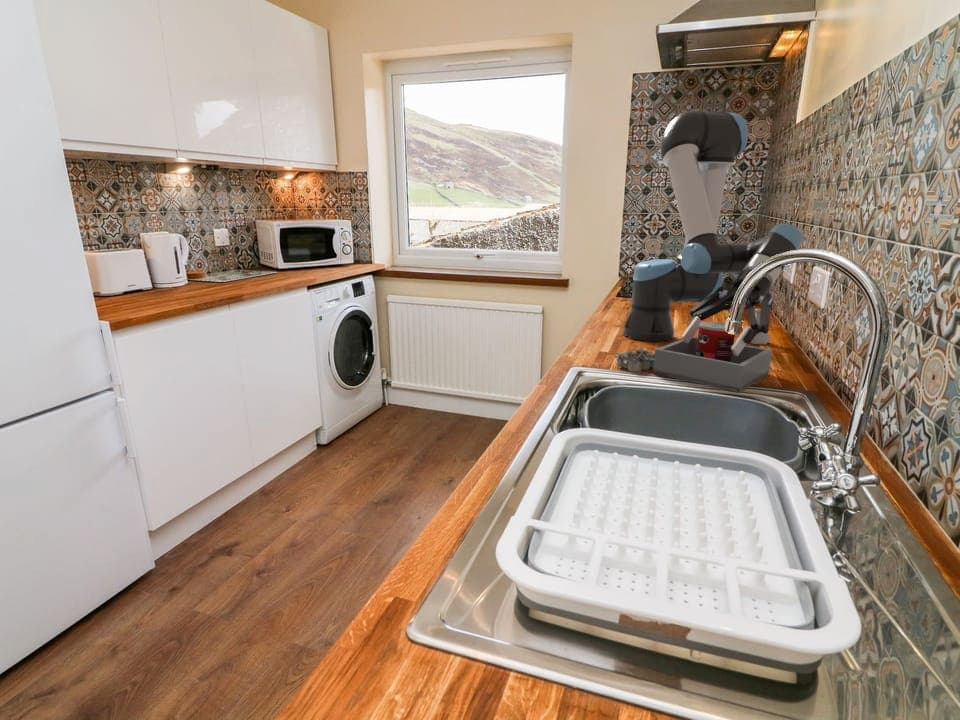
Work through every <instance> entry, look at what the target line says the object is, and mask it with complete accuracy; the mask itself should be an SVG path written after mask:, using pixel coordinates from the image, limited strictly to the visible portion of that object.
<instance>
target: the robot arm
mask: <svg viewBox="0 0 960 720" xmlns="http://www.w3.org/2000/svg"><path fill="white" fill-rule="evenodd" d="M748 129H749V128H748V124H747V122H746V121H745V119H744V117H742V115H740V114H738V113H733V112H729V111H706V110H705V111H702V110H699V111H698V110H686V111H684V112H682V113H679V114H678V115H676V116H675V117H674V118H673V119H671V121H670V122H669V123H668V124H667V126H666V128H665V129H664V132H663V134H662V136H661V137H662V138H661V140H660V141H661V142H660V156H661V160H662V163H663V165H664V166H665V167H667V168H668V172H669V176H670V179H671V180H670V181H671V184H672V187H673V189H672V190H673V192H674V196H675V200H676V206H677V209H678V212H679V216H680V221H681V226H682V229H683V233H684V237H685V238H684V243H683V249H682V251H681V253H680V254H678V255H677V257H676V261H675V260H674V259H671V258H669V259H668V258H661V259H658V258H657V259H650V260H644V261H640V262H639V263H637V264H636V265H635V267H634V270H633V276H632V280H633V281H632V290H631V291H632V293H631V303H630V304H631V305H630V312H629V314H628V317H627V319H626V321H625V324H624V325H623V331H622V334H624V335H626V336H628V337H627V338H629V337H631V338H630V339H633V338H635V339H634V340H638V339H639V341H648V342H662V341H672V340H673V339H674V336H675V335H674V334H675V331H674V330H675V329H674V325H673V321H672V316H671V308H672V303H689V302H691V303H692V302H694V303H698V304H696V305H695V306H693V307H692V308H690V309H689V311H688V313H689V315H690V316H691V317H692V318H690V320H689V322H688V323H687V325H686V329H685V330H684V332H683V333H682V335H681V338H682V339H683V340H684V341H685V343H689V342H690V340H691V339H692V337H695V335H696V334H697V333H698V330H699V325H700V323H701V322H704V321H705V320H707V319H709V318H710V317H712V316H714V315H717V314H720V312H724V311H729V310H731V309H730V308H731V304H732V301H733V298H734V295H735V293H736V291H737V289H738V287H739V285H740V284H741V282H742V281H743V279H744V278H745V276H746V275H747V274H748V273H749V272H750V271H751V269H753V268H754V267H755V266H756V265H758V264H759V263H761V262H762V261H764V260H766V259H768V258H769V257H771V256H774V255H776V254H779V253H782V252H786V251H790V250H796V249H798V250H799V247H800V246H801V244H802V243H803V241H804V240H803V239H804V236H803V235H804V234H803V233H802V231H801V230H799V229H798V227H796V226H794V225H793V224H789V223H779V224H776V225H775V226H774V227H773V228H772V229H771V230H769V232H768V234H767V235H766V236H764V237H761V238H758V239H757V240H753V241H751V242H747V243H720V241H719V238H718V234H717V233H718V227H719V221H720V217H721V216H720V215H721V210H722V203H723V197H724V192H725V191H724V190H725V187H726V186H725V185H726V179H727V173H728V170H729V168H731V167H732V166H733V165H735V159H736V158H738V156H740V155H741V154H743V152H744V149H746V146H747V143H748V139H749V130H748ZM785 267H786V266H782V267H780V268H777V269H775V270H773V271H772V272H770V273H769V274H767V275H766V276H765V277H763V278H762V279H761V280H760V281H759V282H758V283H757V285H756V286H755V287H754V289H753V290H752V292H751V294H750V296H749V299H748V301H747V304H746V307H745V310H744V311H746V315H747V318H748V322H749V326H746V325H745V327H744V329H743V330H742V331H741V333H740V334H739V336H738V337H737V339H736V340H734V344H733V346H732V347H731V350H732V352H733V353H734V355H735V356H738V355H739V354H740V352H741V351H742V349H743V348H744V347H745V345H746V346H747V345H749V344H752V343H751V341H752V340H753V339H754V337H755V336H756V334H758V333H760V332H763V333H764V334H766V333H768V334H769V330H770V318H771V316H770V315H771V307H772V306H773V304H774V299H773V298H772V295H771V294H770V293H768V292H769V291H770V289H771V287H772V285H774V283H775V281H776V280H777V279H778V277H779V276H780V275H781V273H782V271H783V270H784V269H785ZM724 274H732V275H734V276H737V277H736V279H735V280H734V282H733V285H732V288H731V289H729V290H726V289H724V288H723V287H722V286H723V282H724ZM725 302H726V303H727V304H726V303H725ZM758 304H760V309H761V313H760V324H759V325H758V324H757V320H756V316H755V313H756V311H755V309H754V308H755V307H754V306H756V305H758ZM750 326H751V328H750ZM624 335H623V336H624ZM626 336H625V337H626Z"/></svg>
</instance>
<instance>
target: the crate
mask: <svg viewBox="0 0 960 720" xmlns="http://www.w3.org/2000/svg"><path fill="white" fill-rule="evenodd" d="M697 339H698V336H693V337H692V339H691V340H690V342H689V343H685V341H684V340H683V338H682V339H679V340H677V341H674V342H670V343H669V344H665V345H663V346H659V347H658V348H655V349H654V354H655V357H654V367H652V368H653V370H652V374H654V375H658V376H663V377H666V378H672V379H677V380H680V381H684V382H689V383H694V384H697V385H703V386H708V387H712V388H717V389H721V390H724V391H725V390H726V391H730V392H733V393H734V392H735V393H741V392H743V391H744V390H746V389H747V388H749V387H751V386H752V385H754V384H755V383H757V382H758V381H760V380H762V379H763V378H764V377H767V375H769V373H770V367H771V360H772V354H773V349H770V348H763V347H758V346H752V345H747V344H746V345H745V347H744V348H743V349H742V351H741V352H740V354H739V355H738V356H735V355H734V353H733V352H732V357H731V362H726V361H721V360H716V359H711V358H705V357H700V356H695V355H696V347H697ZM750 385H751V386H750Z"/></svg>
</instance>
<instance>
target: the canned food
mask: <svg viewBox="0 0 960 720" xmlns="http://www.w3.org/2000/svg"><path fill="white" fill-rule="evenodd" d="M725 323H726V322H721V321H720V322H719V321H701V323H700V325H699V329H698V331H697V337H698V339H697V347H696V355H695V356H700V357H705V358H711V359H716V360H721V361H726V362H731V357H732V350H731V347H732V346H733V344H734V343H735V335H736V334H735V335H730V334H728V333H727V332H725V331H724V325H725Z"/></svg>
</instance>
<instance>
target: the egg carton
mask: <svg viewBox="0 0 960 720" xmlns="http://www.w3.org/2000/svg"><path fill="white" fill-rule="evenodd" d="M654 357H655V353H653V352H651V351H649V350H645V349H644V348H642V347H641V348H639V349H636V350H629V351H628V352H623V353H620V352H616V354H615V355H614V358H615V359H617V360H616V366H617V368H618V367H624V368H623V369H626V368H628V369H627V371H628V370H630V371H629V372H636V371H639V372H641V370H649V369H650V368H653V367H654Z"/></svg>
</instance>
